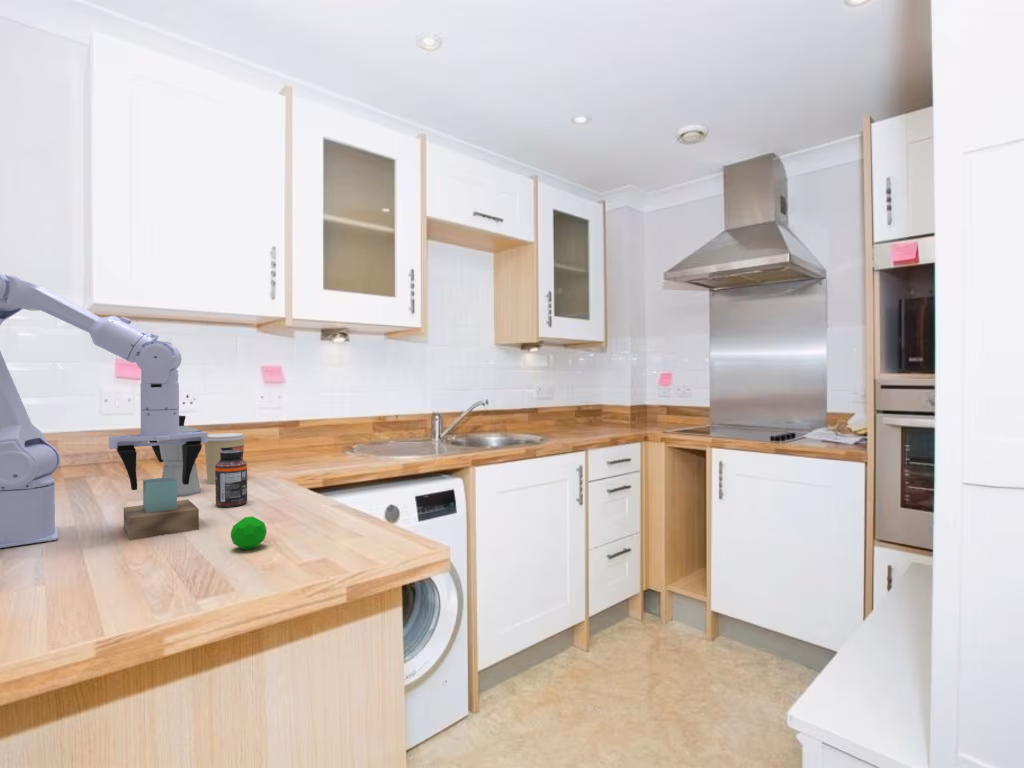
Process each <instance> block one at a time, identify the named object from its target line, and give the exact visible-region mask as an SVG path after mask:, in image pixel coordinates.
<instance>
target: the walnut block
mask: <svg viewBox="0 0 1024 768" xmlns="http://www.w3.org/2000/svg"><path fill="white" fill-rule="evenodd" d="M199 515H200V510H199V508H198V507H197V506H196V505H195V504H194V503H193V502H192V501H190V500H189V499H181V500H177V509H173V510H166V511H158V512H150V513H146V512H145V510H144V508H143V504H140V505H132V506H126V507H123V529H124V531H125V533H126V535H127V538H128V540H129V541H134V540H140V539H147V538H153V537H159V535H161V536H164V535H165V534H167V535H172V534H177V533H179V532H180V533H185V532H192V530H193V531H197V530H198V531H199V530H200V524H199V523H200V517H199ZM180 533H179V534H180ZM165 536H166V535H165Z"/></svg>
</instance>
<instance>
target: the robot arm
mask: <svg viewBox="0 0 1024 768" xmlns="http://www.w3.org/2000/svg"><path fill="white" fill-rule="evenodd" d="M22 310H27V311H31V312H32V311H41V312H43V313H45V314H48V315H50V316H52V317H54V318H56V319H58V320H61V321H63V322H65V323H68V324H69V325H71V326H74V327H76V328H78V329H81V330H82V331H85V332H87V333H88V334H89V335H90V339H91V340H92V343H93V345H95V346H97V347H99V348H100V349H101V348H102V349H103V350H105V351H107V352H110V353H111V354H113V355H115V356H117V357H120V359H121V358H122V359H123V360H126V361H127V362H129V363H133V364H135V363H136V365H137V367H138V368H139V369H140V370H141V371H140V375H141V377H140V378H141V379H140V381H141V382H140V434H127V435H115V436H114V435H113V436H112V435H111V436H108V449H109V450H114V449H115V450H116V451H117V453H118V455H119V457H120V459H121V461H122V463H123V465H124V468H125V470H126V472H127V474H128V475H127V476H128V480H129V483H130V489H131V490H132V491H137V490H138V480H137V479H138V478H137V454H138V453H137V451H136V447H137V448H138V447H140V448H141V447H152V446H156V445H171V444H183V445H182V454H183V472H182V483H183V484H184V485H186V484H189V478H190V474H191V471H192V468H193V465H194V462H196V460H197V459H198V457H199V454H200V452H201V451H202V449H203V445H202V444H205V443H207V442H208V435H209V433H208V431H202V432H179V416H180V383H179V370H178V368H179V367H180V365H181V363H182V354H181V352H180V350H179V349H178V348H177V347H176V346H175V345H174V344H172V342H169V341H161V340H158V338H159V335H158V334H156V333H154V332H151V333H148V332H146V331H145V330H143V329H141V328H139V327H137V326H135V325H133V324H131V323H132V320H131V319H129V318H127V317H125V316H121V317H120V318H119V317H117V316H115V315H112V316H105V317H100V316H98V315H96V314H94V313H93V312H91V311H89V310H87V309H85V308H84V307H82V306H80V305H78V304H76V303H75V302H72V301H71V300H69V299H67V298H65V297H63V296H61V295H60V294H58V293H57V292H54V291H52V290H50V289H48V288H47V287H43V286H41V285H37V284H35V283H32V282H30V281H26V280H25V279H21V278H19V277H17V276H15V275H11V274H6V273H3V272H0V326H1V325H2V324H3V322H4V321H6V320H7V319H9V318H10V317H12V316H14V315H16V314H17V313H19V312H21V311H22ZM6 363H7V362H6V361H5V359H4V356H3V354H2V351H0V549H2V548H10V547H17V546H23V545H30V544H38V543H43V542H51V541H56V540H58V539H59V527H56V509H55V508H56V507H55V505H56V503H55V500H56V497H55V479H54V477H53V474H54V473H55V472H56V471H57V469H58V468H59V467H60V463H61V455H60V453H59V450H57V448H56V447H55V446H53V445H51V444H50V443H49V442H48V441H47V439H46V437H45V435H44V433H43V432H42V431H41V430H40V429H39V428H37V427H36V426H35V425H34V424H33V423H32V421H31V419H30V417H29V414H28V412H27V409H26V407H25V405H24V403H23V401H22V400H23V399H22V398H21V396H20V393H19V392H18V391H19V390H18V388H17V387H16V384H15V382H14V380H13V378H12V376H11V373H10V370H9V368H8V366H7V364H6ZM160 440H173V441H170V442H159V441H160ZM149 441H158V442H154V443H150V442H149ZM197 456H198V457H197Z"/></svg>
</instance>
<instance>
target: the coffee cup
mask: <svg viewBox="0 0 1024 768" xmlns="http://www.w3.org/2000/svg"><path fill="white" fill-rule="evenodd" d="M245 438H246V437H245V436H244V433H242V432H241V433H239V432H231V433H230V432H224V433H222V432H221V433H213V434H211V433H210V434H208V442H207V443H204V454H205V455H204V456H205V467H206V468H205V469H206V478H207V479H206V480H207V483H208V484H211V485H212V484H213V485H216V483H215V466H216V464H217V463H218V462H219V461H220V459H221V458H220V452H221V451H226V450H241V451H242V457H241V459H242V460H244V448H245V447H244V446H245Z"/></svg>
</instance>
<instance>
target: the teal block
mask: <svg viewBox="0 0 1024 768" xmlns="http://www.w3.org/2000/svg"><path fill="white" fill-rule="evenodd" d="M177 501H178V497H177V480H176V479H175V478H174V477H166V478H162V477H158V478H148V479H147V478H146V479H142V502H143V504H142V505H143V508H144V510H145V512H146V513H150V512H158V511H166V510H173V509H177Z"/></svg>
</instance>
